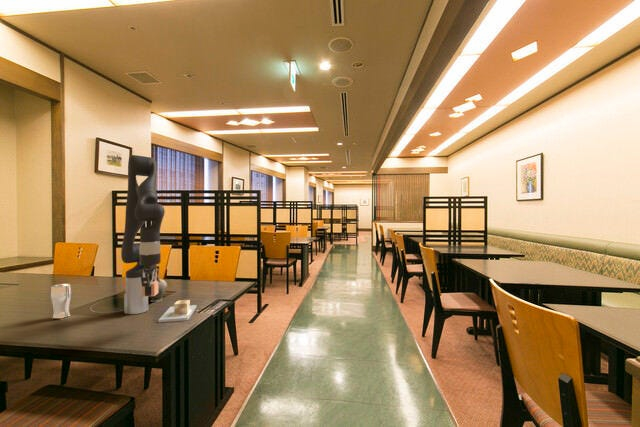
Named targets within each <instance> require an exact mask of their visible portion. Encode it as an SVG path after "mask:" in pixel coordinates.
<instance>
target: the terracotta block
mask: <svg viewBox="0 0 640 427" xmlns="http://www.w3.org/2000/svg"><path fill="white" fill-rule="evenodd" d="M146 283H147V282H146ZM156 294H158V281H152V284H151V295H150V296H155V295H156ZM150 296H149V297H150ZM142 297H146V296H145V287H144V286H142Z"/></svg>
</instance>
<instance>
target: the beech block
mask: <svg viewBox="0 0 640 427" xmlns="http://www.w3.org/2000/svg"><path fill="white" fill-rule="evenodd" d="M190 305H191V300H190V299H183V300H177V301H176V302H174V304H173V306H174V315H183V314H188V312H189V311H190Z"/></svg>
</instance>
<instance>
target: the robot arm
mask: <svg viewBox="0 0 640 427" xmlns="http://www.w3.org/2000/svg"><path fill="white" fill-rule="evenodd" d="M127 163H128V165H127V166H128V167H127V195H126V202H125V203H126V205H125V216H124V217H125V221H124V233H123V238H122V245H121V250H120V252H121V253H120V255H121V256H120V257H121V261H122V262H123V263H124V264H133V263H136V264H135V265H134V266H133V267H132V268H129V269H128V270H126V271H125V293H124V294H123V302H124V303H123V305H124V306H123V308H124V309H123V310H124V312H123V313H124V314H126V315H135V314H143V313H144V312H147V311H149V297H150V295H151V284H152V281H157V280H158V279H159V274H160V265H159V264H160V263H161V262H162V259H161V258H162V255H161V252H162V250H161V249H162V248H161V227H162V222H163V220H164V216H165V212H166V210H165V207H164V206H163V204H159V203H158V194H157V162H156V160H155V158H153V157H150V156H144V155H136V154H131V155H130V156H129V158H128V162H127ZM137 176H138V177H146V178H145V179H144V180H143V181H142V182H141V183H140V184H139V183H138V180H137ZM146 222H154V223H153V224H152V225H149V226H144V224H146ZM138 232H139V241H140V242H135V239H136V237H137V234H138ZM146 282H147V283H146ZM142 286H144V287H145V296H146V297H142Z"/></svg>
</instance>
